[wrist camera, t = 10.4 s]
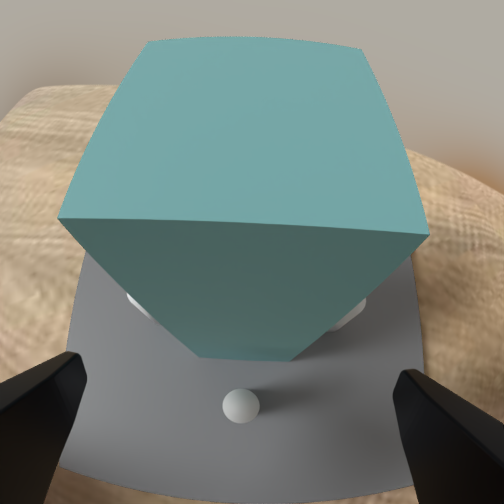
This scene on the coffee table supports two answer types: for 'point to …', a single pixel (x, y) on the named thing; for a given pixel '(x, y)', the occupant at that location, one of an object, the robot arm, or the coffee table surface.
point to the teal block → (246, 191)
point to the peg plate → (241, 403)
